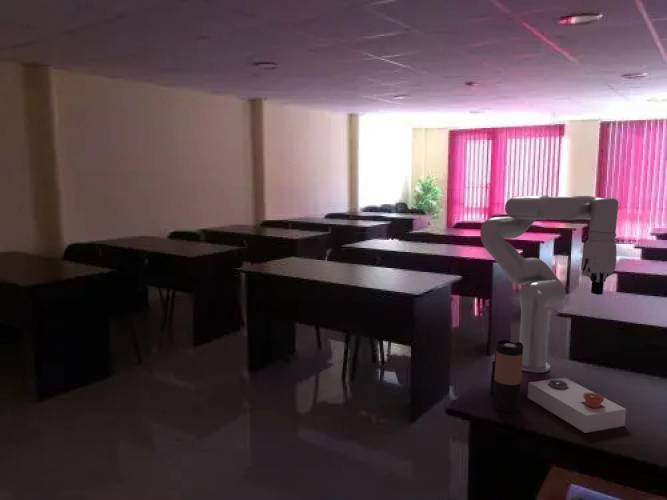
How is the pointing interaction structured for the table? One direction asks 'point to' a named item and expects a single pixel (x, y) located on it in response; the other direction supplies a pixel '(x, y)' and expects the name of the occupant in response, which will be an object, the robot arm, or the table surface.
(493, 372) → the two-way radio
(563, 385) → the metal button
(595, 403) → the red button
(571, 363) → the table surface
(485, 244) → the robot arm
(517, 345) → the travel mug
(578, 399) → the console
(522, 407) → the table surface
